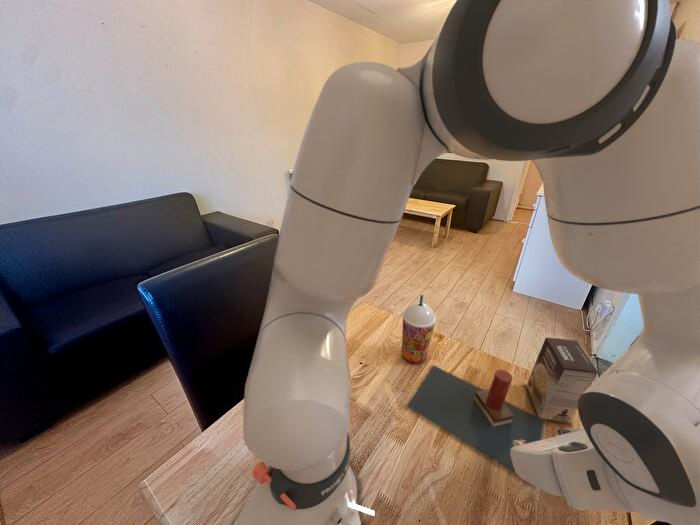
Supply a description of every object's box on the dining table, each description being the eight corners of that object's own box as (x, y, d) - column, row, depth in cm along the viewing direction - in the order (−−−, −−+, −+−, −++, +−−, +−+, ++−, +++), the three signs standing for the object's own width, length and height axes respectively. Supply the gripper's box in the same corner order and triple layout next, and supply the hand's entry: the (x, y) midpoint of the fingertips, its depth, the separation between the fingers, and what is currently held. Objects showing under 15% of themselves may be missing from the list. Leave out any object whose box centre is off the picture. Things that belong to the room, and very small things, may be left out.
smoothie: (392, 355, 79) (397, 295, 70) (410, 341, 84) (417, 283, 75) (417, 372, 74) (426, 310, 65) (435, 356, 79) (446, 296, 70)
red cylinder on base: (511, 422, 61) (525, 387, 56) (493, 427, 60) (505, 391, 55) (490, 395, 67) (501, 361, 62) (473, 398, 66) (483, 364, 61)
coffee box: (524, 385, 70) (544, 335, 63) (552, 390, 69) (576, 339, 62) (538, 420, 62) (563, 367, 55) (570, 425, 61) (600, 372, 54)
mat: (531, 485, 51) (532, 483, 51) (406, 407, 65) (407, 406, 65) (542, 422, 62) (543, 420, 61) (433, 367, 75) (433, 365, 75)
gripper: (668, 424, 41) (580, 408, 54) (548, 456, 37) (485, 430, 50) (691, 475, 39) (594, 446, 52) (567, 514, 35) (496, 472, 48)
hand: (540, 439), depth 51 cm, fingers open, 8 cm apart
